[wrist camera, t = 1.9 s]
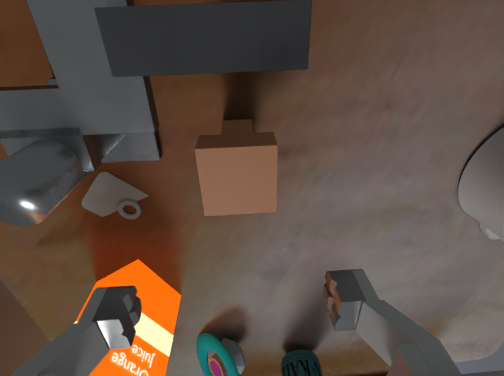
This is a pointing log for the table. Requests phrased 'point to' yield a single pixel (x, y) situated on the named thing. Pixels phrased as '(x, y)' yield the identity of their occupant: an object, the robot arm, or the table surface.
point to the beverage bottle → (301, 364)
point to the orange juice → (142, 324)
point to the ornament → (220, 356)
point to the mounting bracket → (112, 196)
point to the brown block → (237, 170)
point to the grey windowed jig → (124, 84)
